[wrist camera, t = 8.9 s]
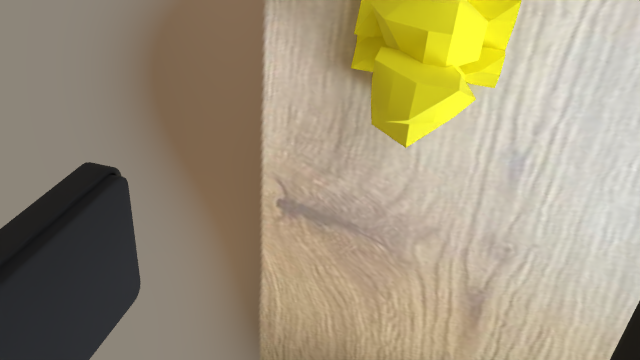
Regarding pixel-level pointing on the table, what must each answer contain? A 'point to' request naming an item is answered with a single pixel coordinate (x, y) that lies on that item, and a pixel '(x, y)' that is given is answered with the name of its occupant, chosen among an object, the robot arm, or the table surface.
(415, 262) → the table surface
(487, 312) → the table surface
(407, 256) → the table surface
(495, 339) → the table surface
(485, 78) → the yellow crystal cluster
